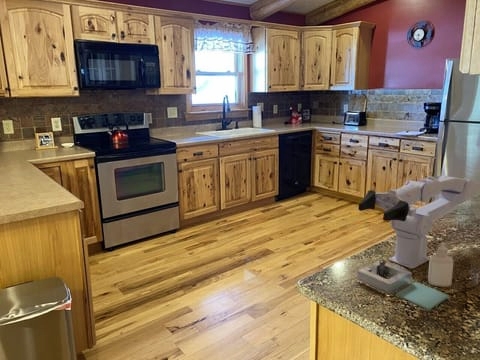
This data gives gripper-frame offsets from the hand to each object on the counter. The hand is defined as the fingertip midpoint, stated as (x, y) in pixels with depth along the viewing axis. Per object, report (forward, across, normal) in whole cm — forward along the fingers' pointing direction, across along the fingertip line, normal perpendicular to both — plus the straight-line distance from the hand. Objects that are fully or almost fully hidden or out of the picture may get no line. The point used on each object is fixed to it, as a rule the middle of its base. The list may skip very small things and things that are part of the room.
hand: (371, 211), depth 101 cm
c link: (-2, +5, +20) cm, 21 cm away
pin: (-4, +4, +21) cm, 21 cm away
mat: (-3, +16, +19) cm, 25 cm away
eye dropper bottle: (-12, +15, +20) cm, 28 cm away
